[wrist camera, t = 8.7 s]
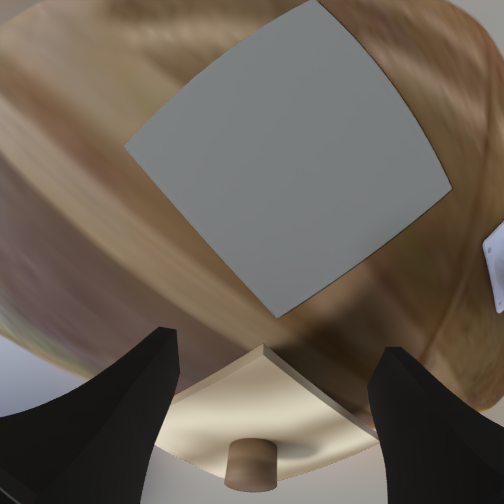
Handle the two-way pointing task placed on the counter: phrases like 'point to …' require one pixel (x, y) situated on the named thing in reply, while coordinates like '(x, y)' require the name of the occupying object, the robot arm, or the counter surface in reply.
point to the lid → (260, 424)
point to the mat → (292, 157)
